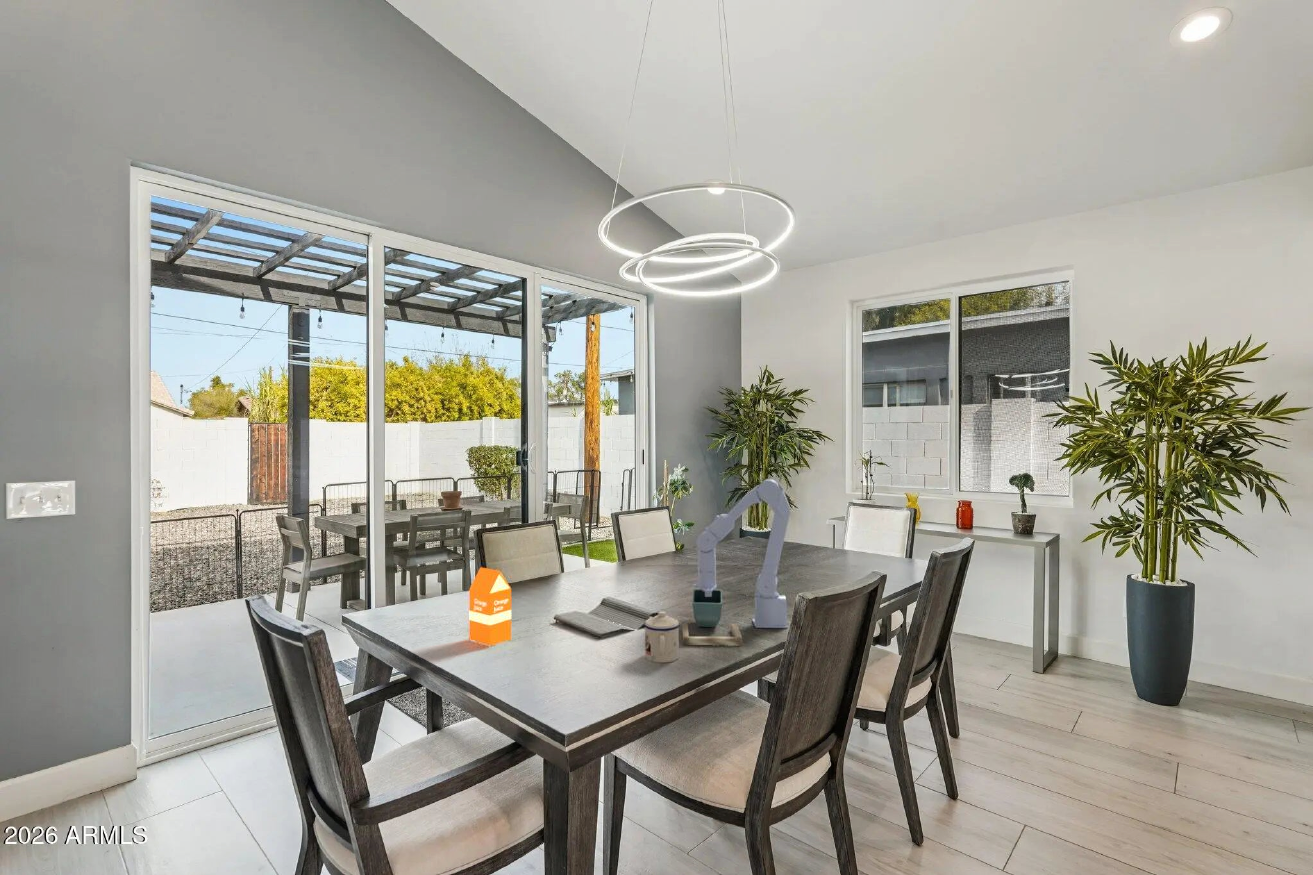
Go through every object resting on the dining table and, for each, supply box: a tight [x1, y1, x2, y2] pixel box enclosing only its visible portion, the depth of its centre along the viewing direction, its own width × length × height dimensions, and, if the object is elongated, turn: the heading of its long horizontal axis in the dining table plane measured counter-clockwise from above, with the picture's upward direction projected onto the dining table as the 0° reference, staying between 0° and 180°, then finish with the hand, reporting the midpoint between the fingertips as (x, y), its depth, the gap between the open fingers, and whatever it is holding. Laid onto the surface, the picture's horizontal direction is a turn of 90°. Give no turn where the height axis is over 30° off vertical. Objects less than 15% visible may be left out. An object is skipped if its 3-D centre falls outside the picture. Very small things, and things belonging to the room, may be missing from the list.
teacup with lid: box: [643, 611, 680, 664], centre depth 159 cm, size 12×9×12 cm
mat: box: [553, 596, 658, 640], centre depth 190 cm, size 23×24×5 cm
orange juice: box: [468, 567, 512, 645], centre depth 173 cm, size 8×9×20 cm
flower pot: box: [691, 588, 723, 628], centre depth 187 cm, size 9×9×9 cm
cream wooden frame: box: [681, 623, 743, 647], centre depth 176 cm, size 16×14×2 cm
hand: (706, 614), depth 193 cm, fingers closed
